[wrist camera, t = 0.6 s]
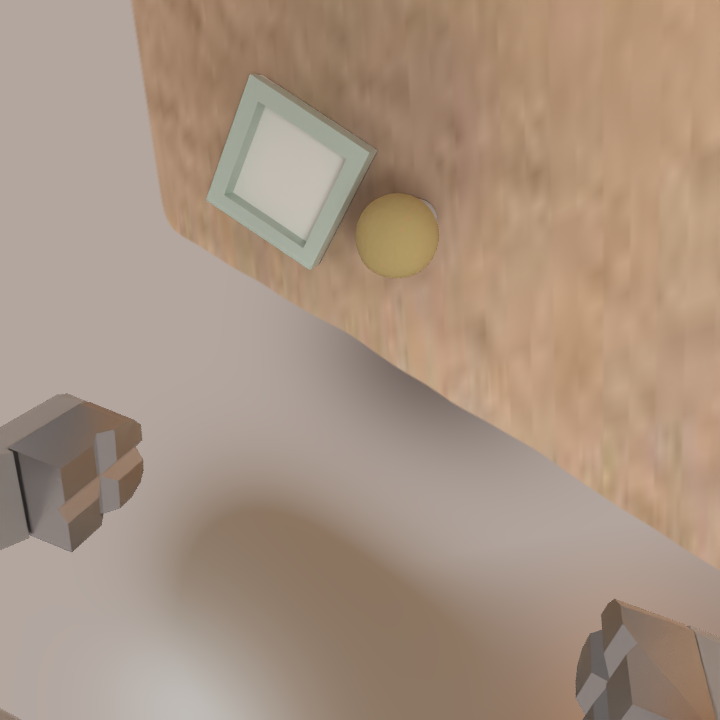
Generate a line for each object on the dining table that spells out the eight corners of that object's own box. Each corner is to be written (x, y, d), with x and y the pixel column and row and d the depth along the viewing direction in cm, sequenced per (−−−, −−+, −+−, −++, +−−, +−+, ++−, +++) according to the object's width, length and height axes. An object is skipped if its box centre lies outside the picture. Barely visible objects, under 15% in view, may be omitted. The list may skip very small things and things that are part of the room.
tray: (262, 74, 46) (250, 73, 44) (377, 150, 46) (369, 152, 44) (218, 196, 53) (205, 200, 51) (319, 263, 52) (309, 270, 50)
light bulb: (454, 179, 45) (428, 199, 36) (454, 255, 47) (429, 290, 39) (381, 181, 47) (340, 201, 38) (384, 254, 49) (347, 286, 41)
